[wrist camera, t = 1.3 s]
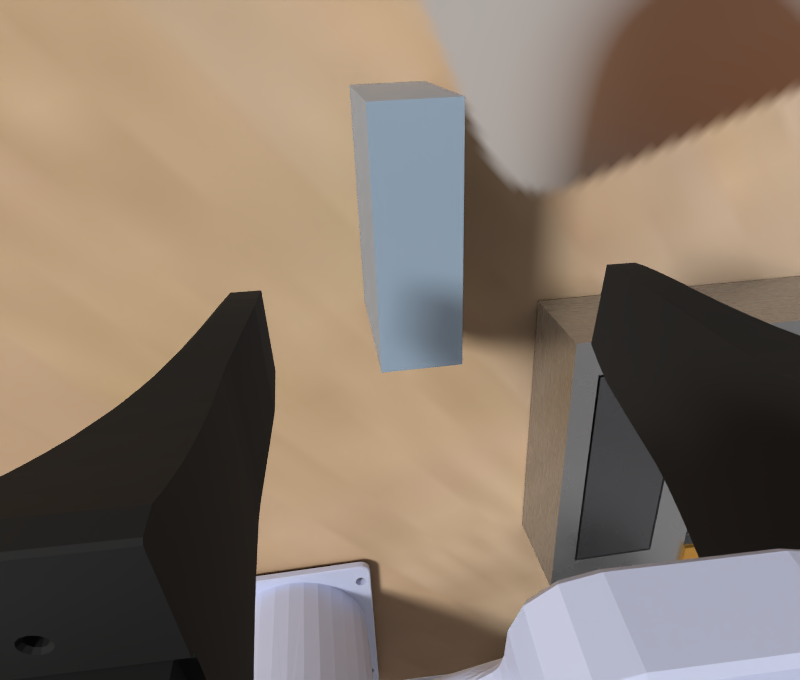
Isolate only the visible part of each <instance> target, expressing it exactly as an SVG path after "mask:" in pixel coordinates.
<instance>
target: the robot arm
mask: <svg viewBox="0 0 800 680" xmlns="http://www.w3.org/2000/svg"><path fill="white" fill-rule="evenodd" d="M591 345H592V348H593V350H594V353H595V356H596V358H597V361H598V363H599V366H600V368H601V370H602V373H603V375H604V377H605V380H606V382H607V384H608V385H609V387H610V389H611V391H612V392H613V394H614V396H615V397H616V399H617V401H618V402H619V404H620V406H621V407H622V409H623V411H624V412H625V414H626V416H627V417H628V419H629V421H630V422H631V424H632V426H633V427H634V429H635V430H636V432H637V434H638V435H639V437H640V439H641V440H642V442H643V444H644V445H645V447H646V448H647V450H648V452H649V453H650V455H651V457H652V458H653V460H654V462H655V463H656V465H657V467H658V469H659V471H660V472H661V474H662V476H663V478H664V480H665V482H666V484H667V486H668V489H669V491H670V493H671V495H672V497H673V499H674V502H675V504H676V506H677V508H678V510H679V512H680V515H681V517H682V519H683V521H684V524H685V526H686V528H687V531H688V533H689V536H690V538H691V540H692V543H693V545H694V547H695V550H696V552H697V555H698V557H699V558H693V559H684V560H676V561H667V562H659V563H650V564H641V565H633V566H624V567H616V568H607V569H598V570H595V571H591V572H587V573H583V574H580V575H576V576H572V577H568V578H565V579H561V580H558V581H556V582H555V583H553V584H552V585H550V586H548V587H547V588H545V589H544V590H542V591H540V592H539V593H537V594H536V595H534V596H533V597H531V598H529V599H528V600H527V601H526V602H525V604H524V605H523V607H522V608H521V610H520V612H519V613H518V615H517V617H516V618H515V620H514V622H513V623H512V625H511V626H510V628H509V630H508V633H507V639H506V646H505V652H504V656H503V658H501V659H497V660H494V661H490V662H487V663H484V664H481V665H477V666H474V667H471V668H468V669H464V670H461V671H458V672H455V673H451V674H444V675H436V676H428V677H420V678H413V679H405V680H800V335H797V334H795V333H792V332H789V331H787V330H784V329H781V328H779V327H776V326H774V325H771V324H769V323H767V322H764V321H762V320H760V319H757V318H755V317H753V316H750V315H748V314H746V313H743V312H741V311H739V310H737V309H734V308H732V307H730V306H728V305H726V304H724V303H722V302H719V301H717V300H715V299H713V298H711V297H709V296H707V295H705V294H703V293H701V292H699V291H697V290H695V289H693V288H691V287H689V286H686V285H684V284H682V283H680V282H678V281H676V280H674V279H672V278H670V277H668V276H666V275H664V274H662V273H659V272H657V271H655V270H653V269H650V268H648V267H646V266H643V265H640V264H637V263H625V264H612V265H607V268H606V273H605V277H604V282H603V287H602V292H601V297H600V302H599V307H598V312H597V317H596V322H595V327H594V332H593V337H592V342H591ZM274 412H275V366H274V361H273V355H272V349H271V344H270V338H269V332H268V327H267V321H266V316H265V310H264V304H263V299H262V293H261V291H248V292H235V293H230V294H229V295H228V296H227V297H226V298H225V300H224V301H223V302H222V303H221V304H220V305H219V306H218V308H217V309H216V310H215V311H214V312H213V314H212V315H211V316H210V317H209V318H208V320H207V321H206V322H205V323H204V324H203V326H202V327H201V328H200V329H199V330H198V331H197V332H196V334H195V335H194V336H193V337H192V338H191V339H190V340H189V341H188V342H187V344H186V345H185V346H184V347H183V348H182V349H181V350H180V351H179V352H178V353H177V354H176V355H175V356H174V357H173V358H172V359H171V360H170V361H169V362H168V363H167V364H166V365H165V366H164V367H163V368H162V369H161V370H160V371H159V372H158V373H157V374H156V375H155V376H154V377H152V378H151V379H150V380H149V381H148V382H147V383H146V384H144V385H143V386H142V387H141V388H140V389H139V390H137V391H136V392H135V393H134V394H132V395H131V396H130V397H129V398H127V399H126V400H125V401H123V402H122V403H121V404H120V405H118V406H117V407H116V408H114V409H113V410H111V411H110V412H109V413H107V414H106V415H104V416H103V417H101V418H100V419H98V420H97V421H95V422H94V423H92V424H91V425H89V426H88V427H86V428H85V429H83V430H82V431H80V432H79V433H77V434H76V435H75V436H73V437H71V438H70V439H68V440H66V441H65V442H63V443H61V444H60V445H58V446H56V447H55V448H53V449H51V450H49V451H48V452H46V453H44V454H42V455H41V456H39V457H37V458H35V459H33V460H31V461H30V462H28V463H26V464H24V465H22V466H20V467H18V468H16V469H14V470H13V471H11V472H9V473H7V474H5V475H3V476H0V680H379V673H378V661H377V649H376V637H375V625H374V613H373V601H372V589H371V577H370V568H369V565H368V564H367V563H365V562H354V563H347V564H340V565H333V566H326V567H319V568H312V569H305V570H297V571H290V572H283V573H276V574H269V575H262V576H256V566H257V543H258V522H259V512H260V503H261V496H262V490H263V484H264V477H265V471H266V464H267V458H268V452H269V445H270V439H271V432H272V426H273V419H274ZM358 578H362V579H358Z"/></svg>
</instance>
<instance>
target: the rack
mask: <svg viewBox="0 0 800 680" xmlns="http://www.w3.org/2000/svg"><path fill="white" fill-rule="evenodd" d="M690 287H691V288H693V289H695V290H697V291H699V292H701V293H703V294H705V295H707V296H709V297H711V298H713V299H715V300H717V301H719V302H722V303H724V304H726V305H728V306H730V307H732V308H734V309H737V310H739V311H741V312H743V313H746V314H748V315H750V316H753V317H755V318H757V319H760V320H762V321H764V322H767V323H769V324H771V325H774V326H776V327H779V328H781V329H784V330H787V331H789V332H792V333H795V334H797V335H800V276H795V277H784V278H774V279H763V280H753V281H742V282H732V283H721V284H711V285H700V286H690ZM600 297H601V295H595V296H585V297H574V298H564V299H553V300H543V301H538V312H537V326H536V340H535V354H534V368H533V382H532V395H531V409H530V423H529V437H528V451H527V464H526V478H525V492H524V506H523V520H522V525H523V527H524V529H525V532H526V534H527V536H528V538H529V540H530V543H531V545H532V547H533V549H534V551H535V554H536V556H537V558H538V560H539V562H540V565H541V567H542V569H543V571H544V573H545V576H546V578H547V580H548V582H549V584H550V585H552V584H553V583H555V582H556V581H558V580H561V579H565V578H568V577H572V576H576V575H580V574H583V573H587V572H591V571H595V570H598V569H607V568H616V567H624V566H633V565H641V564H650V563H659V562H667V561H676V560H684V559H693V558H699V557H698V555H697V552H696V550H695V547H694V545H693V543H692V540H691V538H690V536H689V533H688V531H687V528H686V526H685V524H684V521H683V519H682V517H681V515H680V512H679V510H678V508H677V506H676V504H675V502H674V499H673V497H672V495H671V493H670V491H669V489H668V486H667V484H666V482H665V480H664V478H663V476H662V474H661V472H660V471H659V469H658V467H657V465H656V463H655V462H654V460H653V458H652V457H651V455H650V453H649V452H648V450H647V448H646V447H645V445H644V444H643V442H642V440H641V439H640V437H639V435H638V434H637V432H636V430H635V429H634V427H633V426H632V424H631V422H630V421H629V419H628V417H627V416H626V414H625V412H624V411H623V409H622V407H621V406H620V404H619V402H618V401H617V399H616V397H615V396H614V394H613V392H612V391H611V389H610V387H609V385H608V384H607V382H606V380H605V377H604V375H603V373H602V370H601V368H600V366H599V363H598V361H597V358H596V356H595V353H594V350H593V348H592V345H591V342H592V337H593V332H594V327H595V322H596V317H597V312H598V307H599V302H600Z"/></svg>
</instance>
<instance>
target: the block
mask: <svg viewBox="0 0 800 680" xmlns="http://www.w3.org/2000/svg"><path fill="white" fill-rule="evenodd" d="M350 98H351V112H352V127H353V141H354V156H355V170H356V185H357V199H358V214H359V228H360V242H361V257H362V271H363V286H364V300H365V304H366V309H367V313H368V317H369V321H370V325H371V330H372V334H373V338H374V342H375V347H376V351H377V355H378V359H379V364H380V368H381V372H391V371H401V370H411V369H420V368H430V367H439V366H449V365H458V364H462V329H463V238H464V148H465V96H463V95H460V94H458V93H455V92H452V91H450V90H447V89H444V88H442V87H439V86H436V85H434V84H431V83H428V82H426V81H415V82H396V83H376V84H357V85H350Z"/></svg>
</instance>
